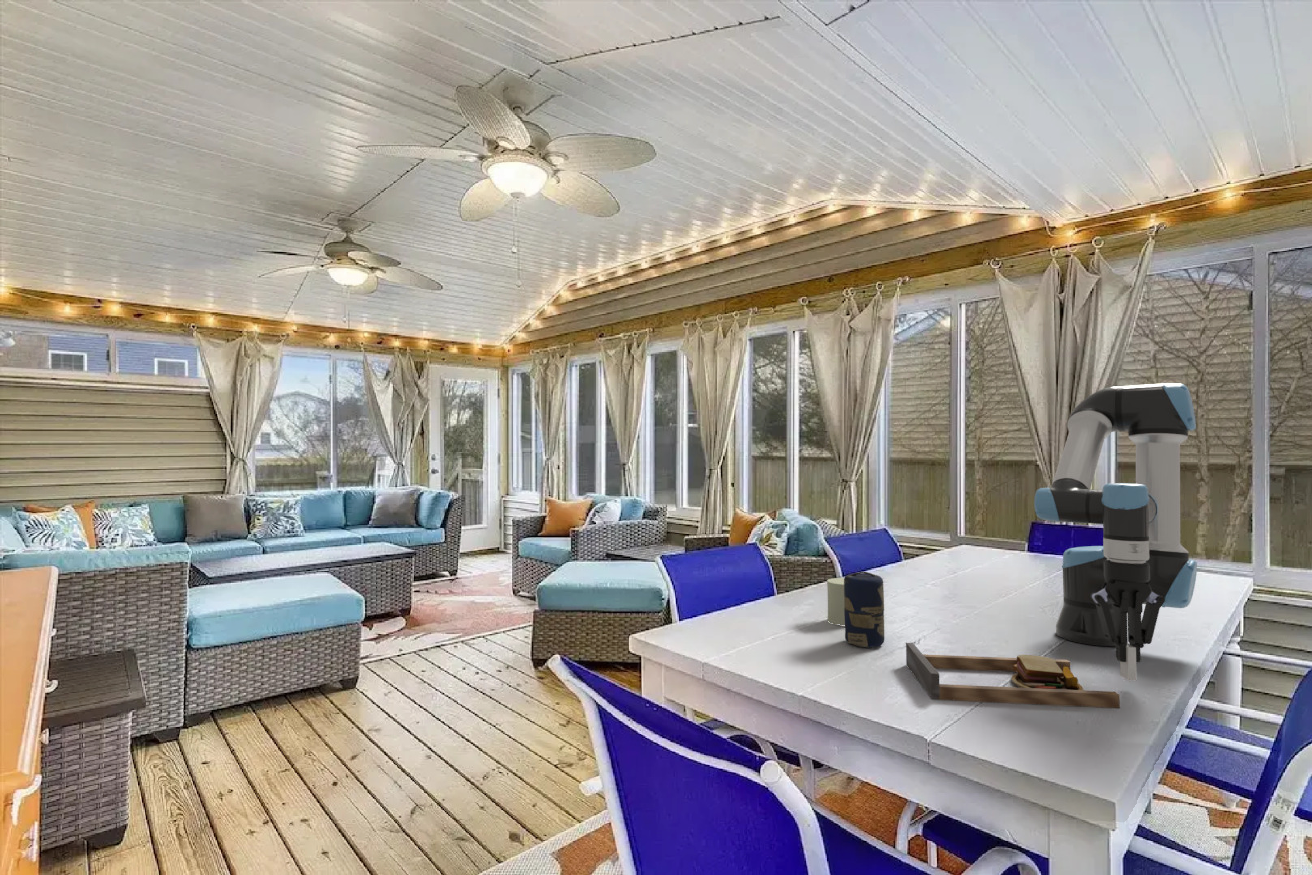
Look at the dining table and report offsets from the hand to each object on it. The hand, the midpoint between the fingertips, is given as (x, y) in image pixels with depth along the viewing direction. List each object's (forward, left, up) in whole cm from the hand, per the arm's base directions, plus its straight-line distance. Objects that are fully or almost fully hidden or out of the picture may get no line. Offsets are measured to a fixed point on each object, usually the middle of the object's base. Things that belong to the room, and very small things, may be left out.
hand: (1128, 677), depth 129 cm
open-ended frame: (+23, 0, -2) cm, 23 cm away
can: (+49, -45, -3) cm, 67 cm away
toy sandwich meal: (+16, 0, -3) cm, 16 cm away
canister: (+47, -25, -3) cm, 53 cm away
